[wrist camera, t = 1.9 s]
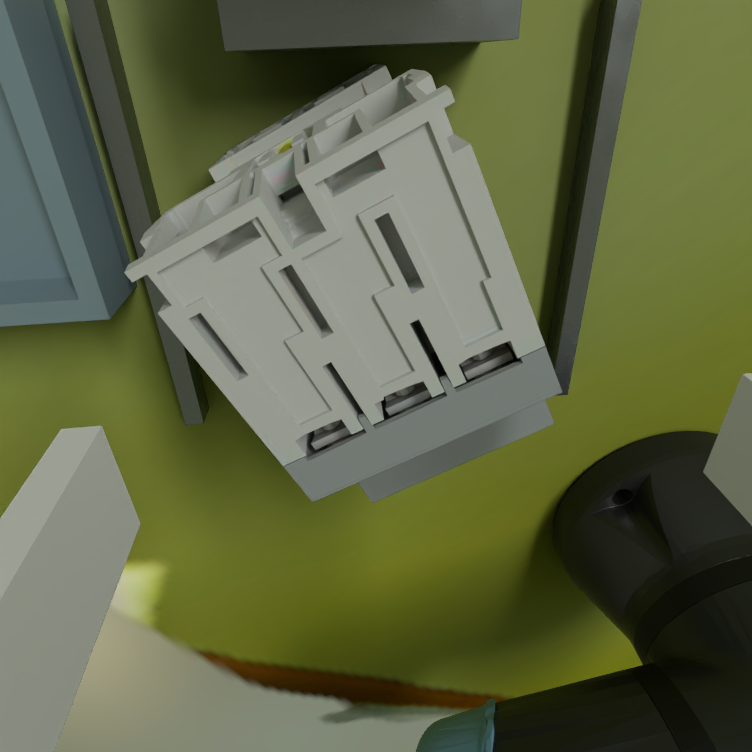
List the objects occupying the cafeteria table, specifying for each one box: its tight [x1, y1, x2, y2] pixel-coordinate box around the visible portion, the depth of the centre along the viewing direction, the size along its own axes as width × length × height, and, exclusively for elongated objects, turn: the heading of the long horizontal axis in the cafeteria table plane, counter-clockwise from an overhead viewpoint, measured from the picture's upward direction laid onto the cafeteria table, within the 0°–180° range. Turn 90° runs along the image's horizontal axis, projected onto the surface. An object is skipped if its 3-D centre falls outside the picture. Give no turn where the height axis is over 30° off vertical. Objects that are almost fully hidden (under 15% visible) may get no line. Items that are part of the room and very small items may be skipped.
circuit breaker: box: [124, 64, 562, 503], centre depth 20 cm, size 8×14×15 cm, turn 26°
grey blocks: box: [65, 0, 642, 425], centre depth 24 cm, size 20×22×5 cm
